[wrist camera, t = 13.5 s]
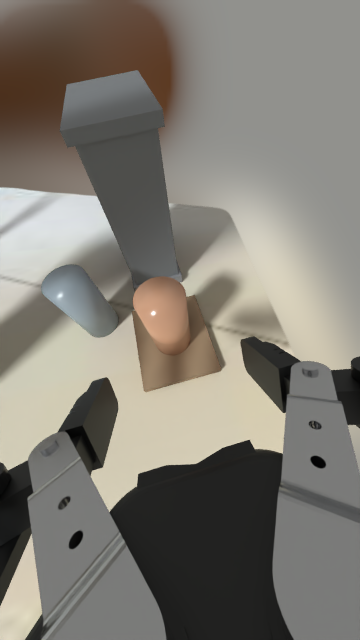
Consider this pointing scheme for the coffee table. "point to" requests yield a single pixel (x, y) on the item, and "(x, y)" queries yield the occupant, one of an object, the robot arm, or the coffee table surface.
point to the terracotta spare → (164, 313)
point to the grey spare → (80, 299)
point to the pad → (179, 367)
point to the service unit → (125, 166)
